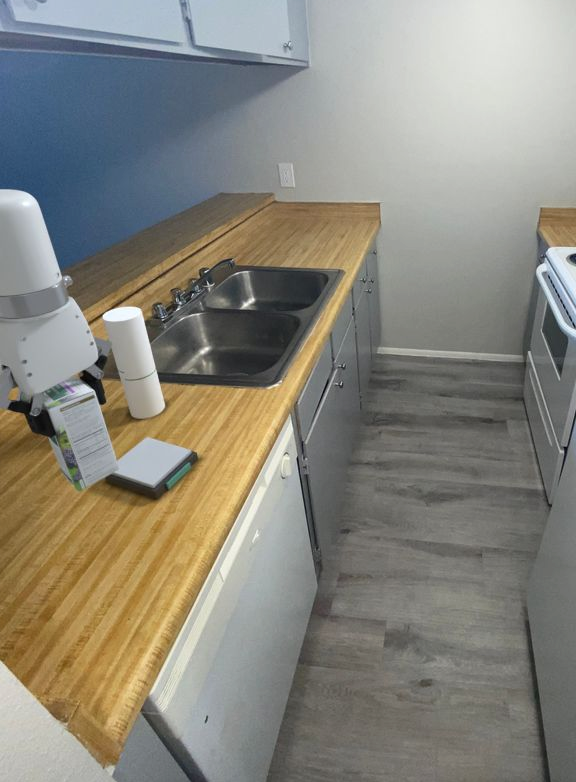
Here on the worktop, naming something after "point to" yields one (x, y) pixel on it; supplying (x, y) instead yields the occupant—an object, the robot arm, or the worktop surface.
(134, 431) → the worktop surface
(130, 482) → the scale
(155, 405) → the cylindrical container
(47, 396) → the syrup box
